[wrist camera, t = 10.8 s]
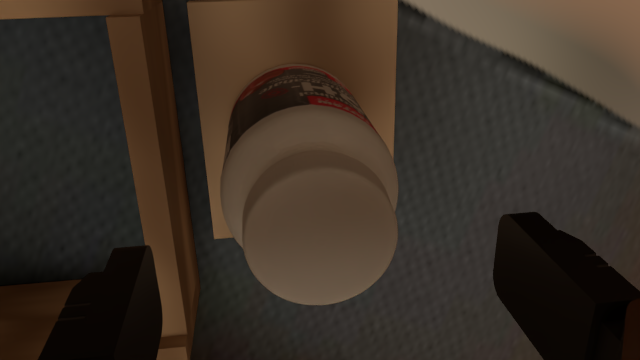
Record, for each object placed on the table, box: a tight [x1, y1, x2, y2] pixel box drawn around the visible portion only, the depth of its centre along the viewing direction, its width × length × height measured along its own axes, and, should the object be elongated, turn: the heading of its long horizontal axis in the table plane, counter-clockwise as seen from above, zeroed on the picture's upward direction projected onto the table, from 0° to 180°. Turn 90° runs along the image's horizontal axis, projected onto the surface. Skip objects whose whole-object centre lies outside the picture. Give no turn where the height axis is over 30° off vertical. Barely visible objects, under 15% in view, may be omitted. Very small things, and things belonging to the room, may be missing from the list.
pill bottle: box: [220, 64, 398, 305], centre depth 18 cm, size 5×5×10 cm
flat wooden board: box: [187, 0, 398, 239], centre depth 23 cm, size 8×10×1 cm
